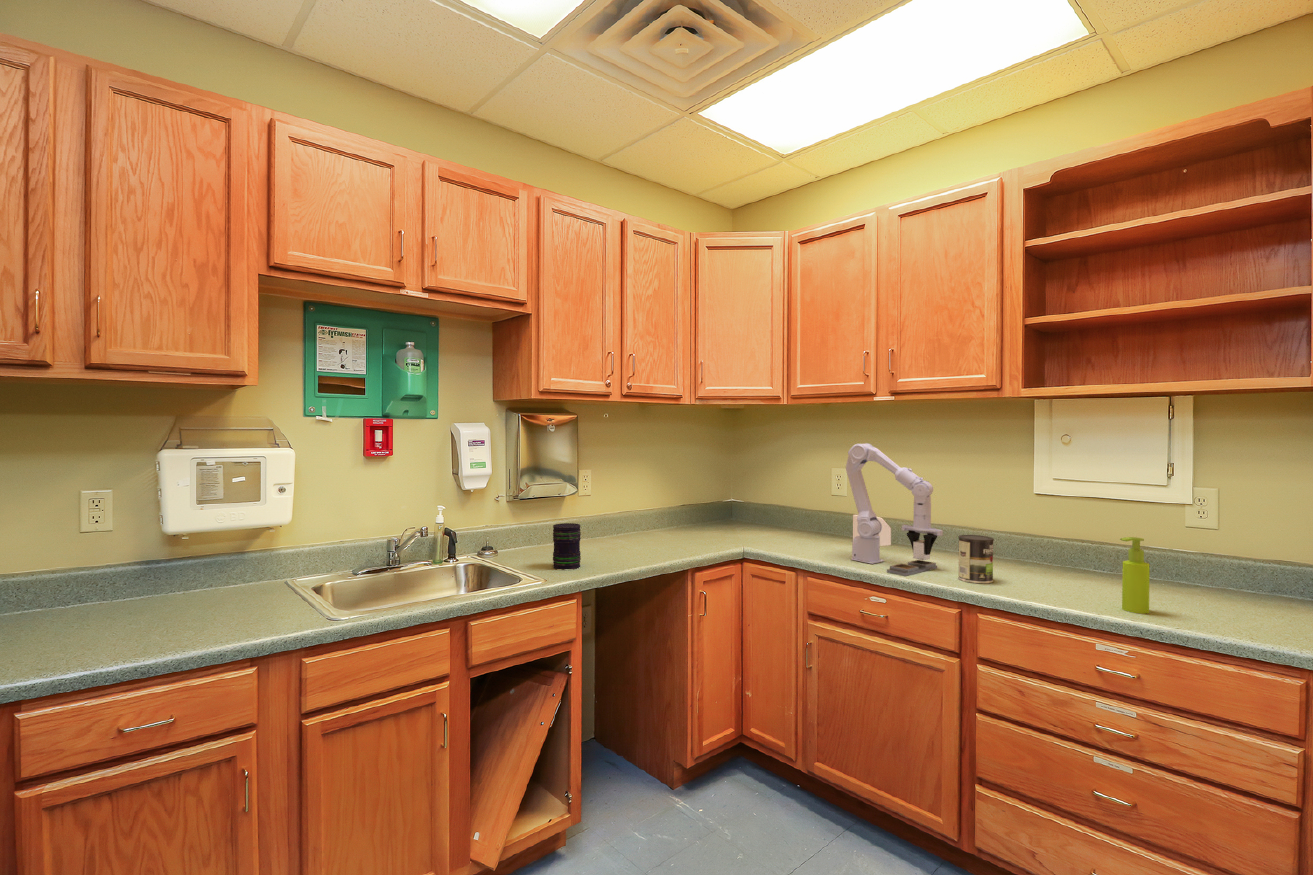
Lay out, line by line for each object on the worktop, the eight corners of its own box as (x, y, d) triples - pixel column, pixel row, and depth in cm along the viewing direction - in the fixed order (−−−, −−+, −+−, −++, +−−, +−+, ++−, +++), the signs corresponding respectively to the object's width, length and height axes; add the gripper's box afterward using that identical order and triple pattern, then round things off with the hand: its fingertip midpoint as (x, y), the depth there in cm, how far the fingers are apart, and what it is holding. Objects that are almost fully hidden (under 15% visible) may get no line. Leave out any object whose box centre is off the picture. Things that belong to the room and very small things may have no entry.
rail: (886, 572, 216) (886, 566, 216) (918, 564, 228) (918, 559, 228) (905, 576, 211) (905, 570, 211) (937, 568, 223) (937, 562, 222)
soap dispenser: (1113, 607, 174) (1113, 535, 174) (1136, 607, 174) (1137, 535, 174) (1130, 613, 168) (1131, 539, 168) (1154, 613, 168) (1155, 539, 168)
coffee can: (998, 580, 205) (999, 537, 205) (984, 585, 198) (985, 541, 198) (966, 574, 213) (967, 533, 213) (952, 579, 206) (952, 536, 206)
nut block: (913, 558, 223) (913, 540, 223) (919, 557, 226) (919, 539, 226) (923, 560, 220) (924, 542, 220) (929, 558, 223) (930, 540, 222)
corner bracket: (852, 542, 274) (853, 514, 274) (874, 540, 277) (875, 513, 277) (868, 546, 264) (868, 518, 263) (890, 545, 267) (890, 517, 267)
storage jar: (547, 568, 222) (547, 526, 222) (563, 562, 230) (563, 522, 230) (570, 571, 217) (570, 528, 217) (586, 565, 226) (586, 524, 226)
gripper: (947, 516, 219) (947, 555, 219) (909, 512, 231) (909, 548, 231) (937, 518, 215) (936, 557, 215) (898, 513, 227) (898, 550, 227)
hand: (921, 553), depth 223 cm, fingers closed on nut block, 4 cm apart
